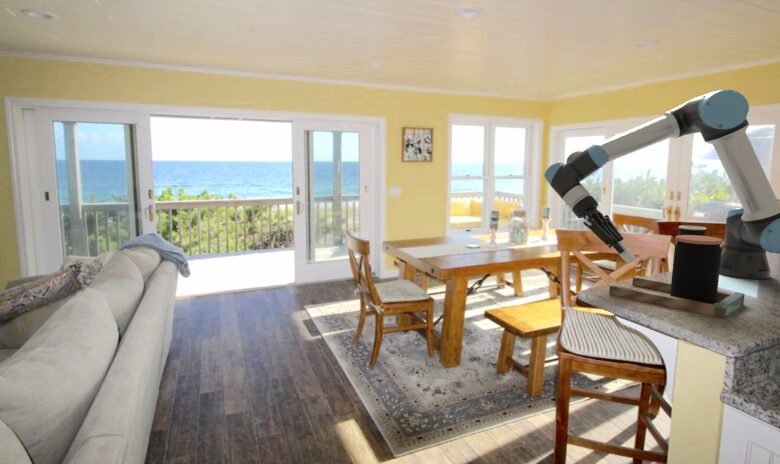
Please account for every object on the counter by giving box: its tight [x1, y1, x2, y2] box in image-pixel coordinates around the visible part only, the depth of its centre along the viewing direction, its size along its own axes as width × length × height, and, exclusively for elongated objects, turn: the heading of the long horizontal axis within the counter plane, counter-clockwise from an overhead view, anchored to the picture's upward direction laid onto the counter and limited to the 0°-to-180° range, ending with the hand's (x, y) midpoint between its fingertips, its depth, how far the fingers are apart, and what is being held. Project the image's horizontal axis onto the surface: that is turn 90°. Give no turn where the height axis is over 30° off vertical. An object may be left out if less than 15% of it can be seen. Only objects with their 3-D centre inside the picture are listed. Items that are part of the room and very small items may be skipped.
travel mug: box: [675, 225, 707, 244], centre depth 145 cm, size 8×8×18 cm
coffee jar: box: [669, 234, 724, 305], centre depth 123 cm, size 11×11×18 cm
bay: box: [608, 275, 746, 319], centre depth 127 cm, size 28×18×3 cm, turn 40°
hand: (631, 260), depth 135 cm, fingers closed
